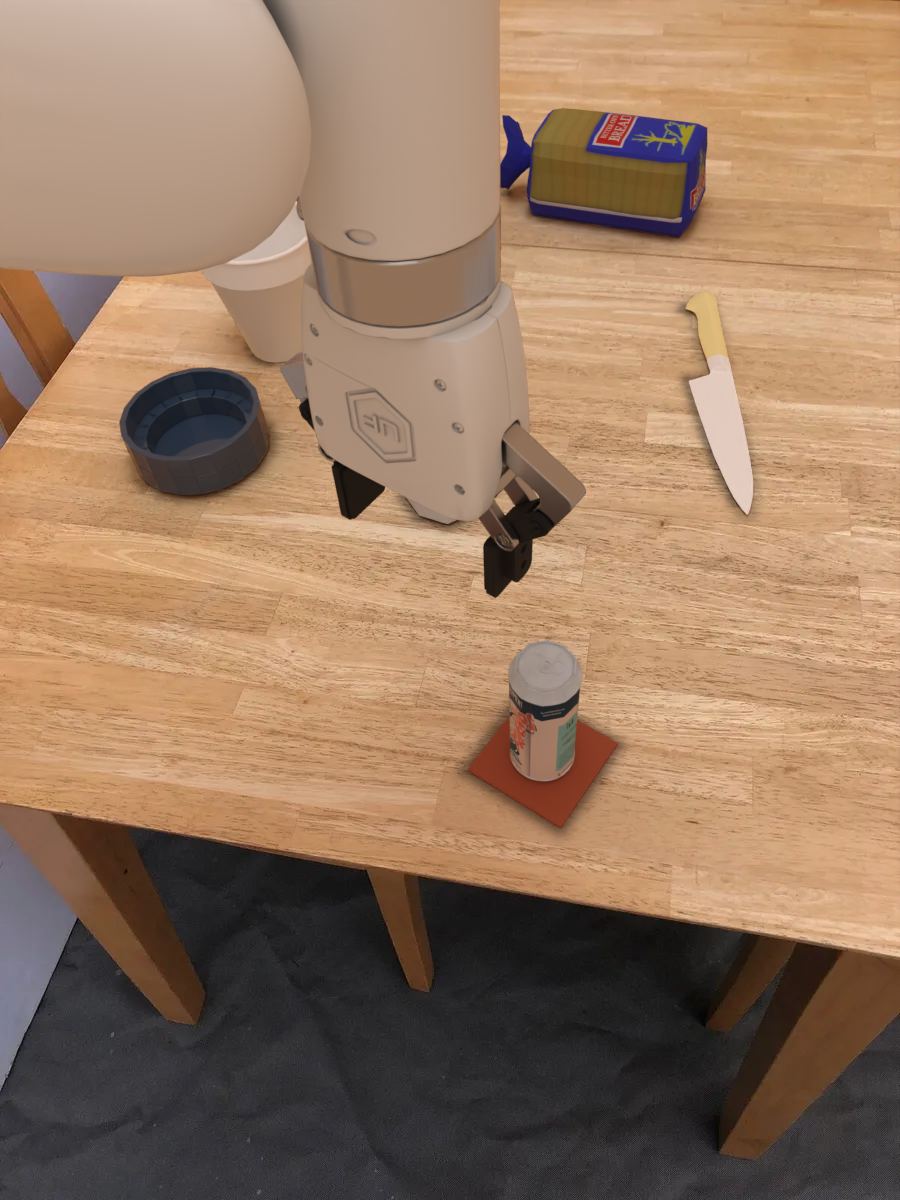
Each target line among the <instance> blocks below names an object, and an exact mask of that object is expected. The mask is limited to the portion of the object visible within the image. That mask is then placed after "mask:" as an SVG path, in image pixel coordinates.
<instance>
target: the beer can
mask: <svg viewBox="0 0 900 1200" xmlns="http://www.w3.org/2000/svg"><path fill="white" fill-rule="evenodd" d="M507 670H508V671H507V673H508V675H507V679H508V704H509V705H508V706H509V715H510V758H511V761H512V763H513V765H514V766H515V768H516V769H517V770H518V771H519V772H520V773H521V774H522V775H524V776H525V777H527V778H529V779H532V780H536V781H551V780H554V779H557V778H559V777H561V776H563V775H564V774H565V773H566V772H567V771H568V770H569V769H570V768H571V766H572V764H573V762H574V757H575V748H574V747H575V736H576V726H577V720H578V713H579V703H580V693H581V685H582V681H583V668H582V666H581V663H580V661H579V660H578V659H577V657H576V656H575V655H574V653H573V652H572V651H571V650H569V648H567V646H566V645H563V644H561V643H558V642H555V641H552V640H549V639H545V640H540V641H534V642H529V643H528V644H527V645H526V646H525V647H524V648H522V649H521V650H520V651H519V652H518V653H516V654H515V655H514V657H513V658H512V660H511V661H510V663H509V667H508V669H507Z"/></svg>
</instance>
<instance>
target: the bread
mask: <svg viewBox="0 0 900 1200" xmlns="http://www.w3.org/2000/svg"><path fill="white" fill-rule="evenodd" d="M501 118H502V127H503V130H504V134H505V138H506V139H507V143H506V152H505V154H504V157H503V158H502V160H501V161H500V189H506V190H507V191H506V193H508V191H509V190H510V189H511V187H512V186H513V184H514V183H515V182H516V181H517V180H518V179H519V177H520V176H521V175H522V174H523V173H525V172H526V171H527V170H528V175H527V180H526V181H527V182H526V187H525V189H526V190H525V191H526V197H527V201H528V207H529V211H530V212H531V213H532V215H533V216H534V217H540V218H546V219H553V220H559V221H565V222H566V221H567V222H573V223H580V224H584V225H585V224H587V225H591V226H598V227H599V226H600V227H604V228H605V227H606V228H613V229H619V230H626V231H632V232H639V233H646V234H652V235H653V234H654V235H660V236H666V237H673V238H681V236H682V235H683V234H684V233H685V232H686V231H687V230H688V229H689V227H690V225H691V223H692V221H693V220H694V217H695V215H697V214H696V213H697V212H698V209H699V207H700V204H701V202H702V200H703V198H704V196H705V195H704V194H705V192H706V188H707V187H706V184H707V183H706V182H707V181H706V176H707V174H706V172H707V171H706V170H707V167H706V166H707V165H706V164H707V162H706V161H707V151H708V127H707V126H705V125H702V124H700V123H696V122H690V121H689V122H688V121H683V120H674V119H668V118H667V119H666V118H657V117H650V116H644V115H643V116H642V115H634V114H626V113H618V112H606V111H598V110H588V109H578V108H568V107H567V108H566V107H561V108H556V109H554V108H553V109H552V110H551V111H549V112H548V113H547V115H546V116H545V117H544V119H543V121H542V122H541V124H540V125H539V127H538V128H537V130H535V133H534V134H533V137H532V140H531V144H530V145H529V143H528V142H527V141H526V140H525V138H524V137H525V136H524V133H523V131H522V128H521V125H520V122H519V121H516V120H515V119H514V118H513V117H512V116H511V115H507V114H506V115H505V114H503V115H501Z"/></svg>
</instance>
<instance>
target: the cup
mask: <svg viewBox="0 0 900 1200" xmlns="http://www.w3.org/2000/svg"><path fill="white" fill-rule="evenodd" d="M296 207H297V201H296V202H295V204H294V206H293V208H292V210H291V212H290V213H289V214H288V216H287V217H286V218H285V219H284V221H283V222H282V223H281V224H280V225H279V227H278V228H277V229H276V230H275V231H274V233H273V234H272V235H271V236H270V237H268V238H267V239H266V240H265V241H263V242H262V243H261V244H259V245H258V246H257V247H256V248H254V249H253V250H251V251H249V252H247V253H245V254H243V255H241V256H239V257H237V258H235V259H233V260H231V261H229V262H227V263H224V264H221V265H217V266H214V267H210V268H207V269H203V270H200V272H201V274H202V275H203V276H204V277H205V279H206V280H207V281H209V282H210V283H211V285H212V287H213V288H214V290H215V292H216V293H217V295H218V297H219V299H220V300H221V302H222V304H223V305H224V307H225V309H226V310H227V312H228V314H229V315H230V317H231V319H232V321H233V322H234V324H235V325H236V327H237V329H238V330H239V332H240V334H241V336H242V338H243V340H244V341H245V343H246V345H247V346H248V348H249V350H250V351H251V353H252V355H254V357H255V358H256V359H259V360H260V361H263V362H267V363H275V364H277V363H286V362H287V361H288V360H290V359H291V358H292V357H294V356H295V355H296V354H298V353H303V350H302V335H301V301H302V289H303V279H304V274H305V271H306V269H307V268H308V266H309V265H310V264H311V263H312V262H311V256H310V251H309V245H308V240H307V234H306V229H305V223H304V221H303V220H301V219H300V218H299V216H298V214H297V210H296Z"/></svg>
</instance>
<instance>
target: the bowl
mask: <svg viewBox="0 0 900 1200" xmlns="http://www.w3.org/2000/svg"><path fill="white" fill-rule="evenodd" d="M118 422H119V423H118V425H119V431H120V436H121V439H122V441H123V444H124V445H125V447H126V450H127V452H128V454H129V456H130V458H131V461H132V463H133V466H134V467H135V469H136V472H137V473H138V474H139V476H140V477H141V479H142V480H143V481H144V482H145V483H146V484H148V485H149V486H151V487H153V488H154V489H156V490H157V491H160V492H164V493H168V494H174V495H178V496H191V495H193V496H194V495H195V496H196V495H204V494H209V493H211V492H215V491H219V490H223V489H225V488H227V487H230V486H231V485H234V484H235V483H237V482H239V481H241V480H243V479H244V478H246V477H247V476H248V475H249V474H250V473H251V472H253V470H255V469H256V468H257V467H258V466H259V465H260V463H261V461H262V460H263V459H264V457H265V455H266V453H267V452H268V448H269V442H270V437H271V436H270V431H269V428H268V425H267V421H266V417H265V414H264V411H263V407H262V404H261V400H260V397H259V394H258V391H257V388H256V387H255V386H254V385H253V383H251V382H250V380H249V379H248V378H247V377H246V376H243V375H241V374H239V373H237V372H235V371H232V370H231V369H226V368H225V369H224V368H219V367H213V366H212V367H211V366H208V367H205V366H204V367H191V368H190V367H189V368H186V369H182V370H177V371H174V372H170V373H168V374H166V375H163V376H161V377H159V378H157V379H155V380H152V381H151V382H149V383H148V384H146V385H145V386H144V387H142V388H140V390H138V391H137V392H135V393H134V394H133V396H132V397H131V398H130V399H129V401H128V402H127V403H126V405H125V406H124V407H123V409H122V413H121V416H120V419H119V421H118Z"/></svg>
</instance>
